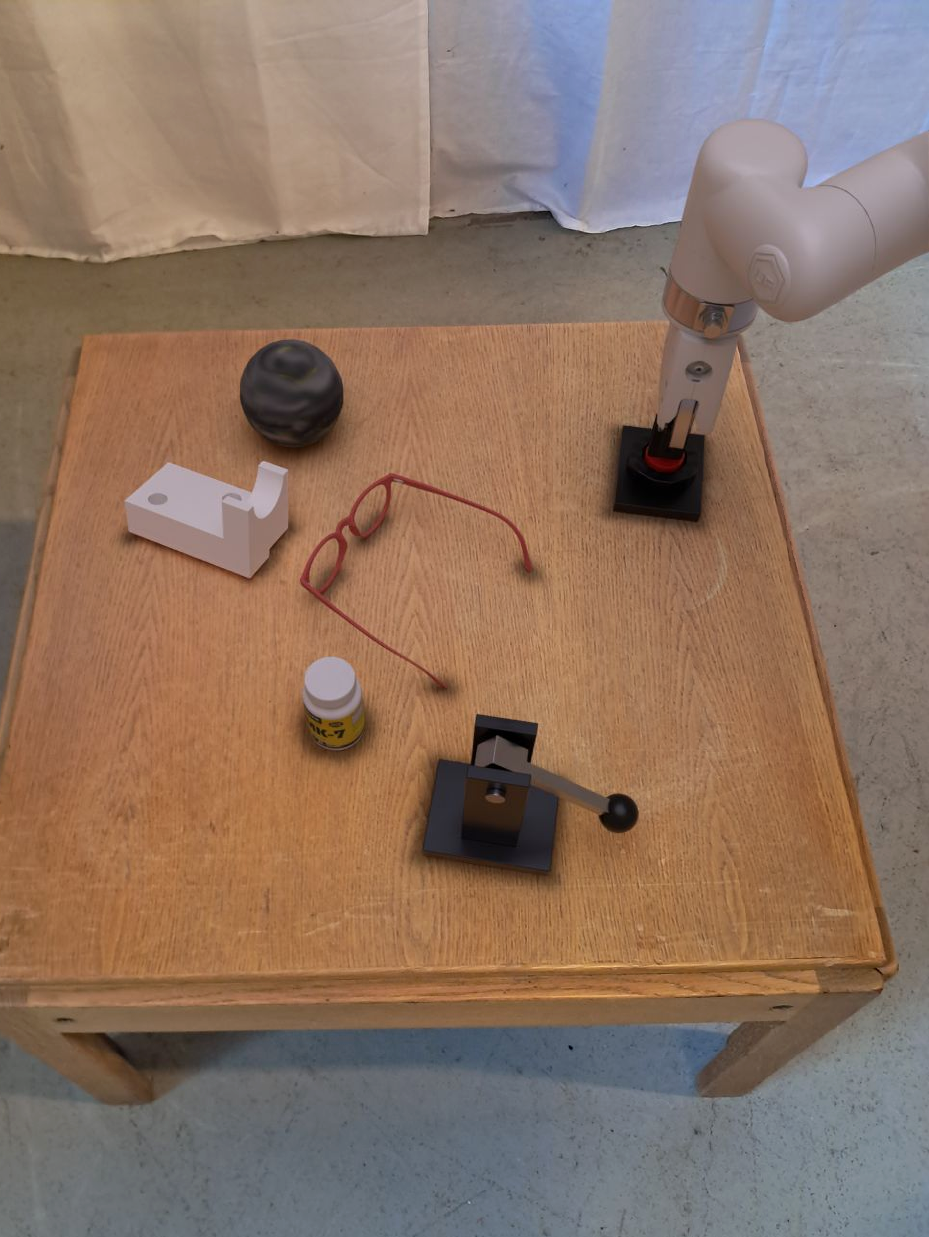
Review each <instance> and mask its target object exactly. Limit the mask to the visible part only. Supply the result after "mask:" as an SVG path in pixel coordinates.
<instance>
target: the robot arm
mask: <svg viewBox="0 0 929 1237" xmlns="http://www.w3.org/2000/svg"><path fill="white" fill-rule="evenodd" d="M808 160H809V158H808V153H807V149H806V147H805V144H804V143H803V141H802V140H801V138H799V136H798V135H797V134H796V133H794V132H793V131H792V130H791V129H789V128H788V127H786V126H784V125H782V124H780V123H778V122H775V121H771V120H768V119H767V120H766V119H762V118H741V119H735V120H732V121H729V122H726V123H724V124H721V125H720V126H718V127H717V128H716V129H714V130H713V131H712V132H711V133H710V134H709V135H708V136H707V137H706V139H705V140H704V141H703V143H702V145H701V147H700V149H699V151H698V155H697V158H696V161H695V165H694V169H693V172H692V177H691V181H690V185H689V189H688V192H687V196H686V200H685V204H684V207H683V212H682V216H681V220H680V223H679V227H678V232H677V236H676V240H675V244H674V247H673V252H672V256H671V260H670V264H669V267H668V272H667V276H666V279H665V283H664V288H663V292H662V296H661V299H660V300H661V301H660V302H661V303H660V305H661V309H662V310H661V311H662V312H663V314H664V316H665V318H666V319H667V320H668V326H667V331H666V335H665V339H664V345H663V350H662V356H661V363H660V372H659V383H658V396H657V398H658V399H657V412H656V414H655V416H654V420H653V424H652V428H651V429H652V431H651V434H650V438H649V442H648V446H649V447H648V456H650V457H658V458H666V459H674V460H680V459H682V456H683V453H684V450H685V447H686V444H687V441H688V438H689V435H690V433H692V427H693V424H694V422H695V425H696V430H697V434H700V435H705V436H708V435H710V434H711V433H712V432H713V431H714V429H715V425H716V422H717V419H718V416H719V412H720V408H721V405H722V403H723V402H722V401H723V398H724V396H725V392H726V389H727V386H728V382H729V379H730V375H731V372H732V368H733V364H734V360H735V355H736V351H737V347H738V342H739V338H740V337H739V336H740V335H741V334H742V333H744V332H745V331H747V330H748V329H749V328H750V327H751V326H752V325H753V323H754V322H755V320H756V317H757V314H758V312H759V309H761V310H762V311H763V312H764V313H766V314H767V315H768V316H770V317H772V318H773V319H775V320H778V321H781V322H785V323H798V322H802V321H805V320H808V319H811V318H813V317H815V316H817V315H819V314H820V313H823V312H824V311H826V310H827V309H829V308H831V307H833V306H834V305H836V304H838V303H839V302H842V301H843V300H844V299H847V298H848V297H849V296H851V295H853V294H855V293H856V292H857V291H859V290H860V289H862V288H864V287H866V286H867V285H869V284H871V283H873V282H874V281H876V280H878V279H880V278H882V277H883V276H884V275H886V274H889V273H890V272H892V271H894V270H895V269H897V268H899V267H901V266H903V265H904V264H906V263H908V262H909V261H910V262H911V261H912V260H914V259H916V258H918V257H920V256H923V255H926V254H928V253H929V129H928V130H925V131H924V132H921V133H919V134H917V135H915V136H913V137H911V138H908V139H906V140H904V141H901V142H900V143H897V144H895V145H892V146H890V147H888V148H887V149H884V150H882V151H880V152H878V153H875V154H874V155H871V156H870V157H867V158H866V159H864V160H862V161H859V162H857V163H855V164H853V165H851V166H850V167H848V168H846V169H843V170H842V171H840V172H838V173H837V174H835V175H833V176H831V177H829V178H827V179H825V180H823V181H822V182H819V183H817V184H816V185H813V186H807V187H805V186H804V183H805V179H806V176H807V174H808V168H809V166H808V164H809V163H808V162H809V161H808Z"/></svg>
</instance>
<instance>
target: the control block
mask: <svg viewBox="0 0 929 1237" xmlns="http://www.w3.org/2000/svg"><path fill="white" fill-rule="evenodd" d="M651 431H652V428H650V427H644V426H643V427H642V426H633V425H627V424H623V425H622V427H621V432H620V440H619V448H618V449H619V450H618V458H617V469H616V478H615V488H614V497H613V507H612V512H618V513H623V514H624V513H625V514H633V515H640V516H648V517H656V518H664V519H670V520H677V521H685V522H695V523H698V522H699V520H700V517H701V514H702V498H703V477H704V459H705V442H706V441H705V440H706V435H703V434H699V433H692V432H690V435H689V438H688V441H687V444H686V447H685V450H684V454H685V456H684V460H683V463H682V466H681V469H680V470H678V471H674V472H671V473H666V472H658V471H656V470H654V469H652V468H650V467H649V466H647V464H646V462H645V461H644V456H645V453H646V449H647V447H648V442H649V438H650V434H651Z"/></svg>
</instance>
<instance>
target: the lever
mask: <svg viewBox="0 0 929 1237" xmlns="http://www.w3.org/2000/svg"><path fill="white" fill-rule="evenodd" d="M527 755H528V749H526V748H524V747H522V746H520V745H517V744H515V743H513V742H511V741H509V740H507V739H504V738H502V737H500V736H498V735H496V736H494V737H492V738H490V739H488V740H487V741H485V742H483V743H481V744H479V745H478V747H477V753H476V759H475V765H474V766H480V767H487V768H493V769H499V770H506V771H512V772H519V773H525V774H531V782H530V785H533V786H535V787H537V788H539V789H542V790H544V791H546V792H548V793H551V794H553V795H555V796H557V797H559V798H560V799H562V800H564V801H567V802H568V803H571V804H573V805H575V806H578V807H580V808H582V809H584V810H587V811H590V812H591V813H594V814H596V815H597V816H598V820H599V822H600V824H601V826H602V827H603V828H604V829H605V830H606V831H608V832H610V833H613V834H626V833H628V832H630V831H631V830H633V829H634V827H636V825H637V823H638V820H639V819H640V818H639V817H640V811H639V807H638V805H637V803H636V801H635V800H634V799H633V798H632V797H631V796H629V795H627V794H626V793H625V794H624V793H619V792H617V793H616V792H615V793H611V794H608V795H607V796H604V795H601V794H599V793H597V792H595V791H593V790H591V789H588V788H586V787H584V786H583V785H582V786H581V785H580V784H578V783H575V782H573V781H571V780H568V779H566V778H564V777H562V776H560V775H557V774H555V773H553V772H550V771H548V770H546V769H544V768H542V767H540V766H538V765H536V764H534V763H532V762H531V763H529V762H527Z"/></svg>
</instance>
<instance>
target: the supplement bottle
mask: <svg viewBox="0 0 929 1237" xmlns="http://www.w3.org/2000/svg"><path fill="white" fill-rule="evenodd" d="M354 670H355V669H354V668H353V667H352V665H351V664H350V663H349V662H348V661H347V660H345V659H344V658H341V657H338V656H324V657H321V658H318V659H317V660H314V661H313V662H312V663H310V665H309V666H308V667H307V669H306V671H305V673H304V678H303V682H304V684H303V687H302V690H301V692H302V693H301V699H302V703H303V708H304V712H305V717H306V722H307V727H308V731H309V734H310V737H311V739H312V740H313V741H314V742H315V743H316V745H318V746H319V747H322V748H324V749H326V750H329V751H342V750H347V749H349V748H351V747H353V746H354V745H355V744H357V743H358V742H359V741H360V739H361V738H362V736H363V734H364V732H365V729H366V728H365V727H366V720H365V709H364V698H363V697H364V696H363V689H362V685H361V683H360V681H359V679H358V678H357V676H356V673H355V671H354Z"/></svg>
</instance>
